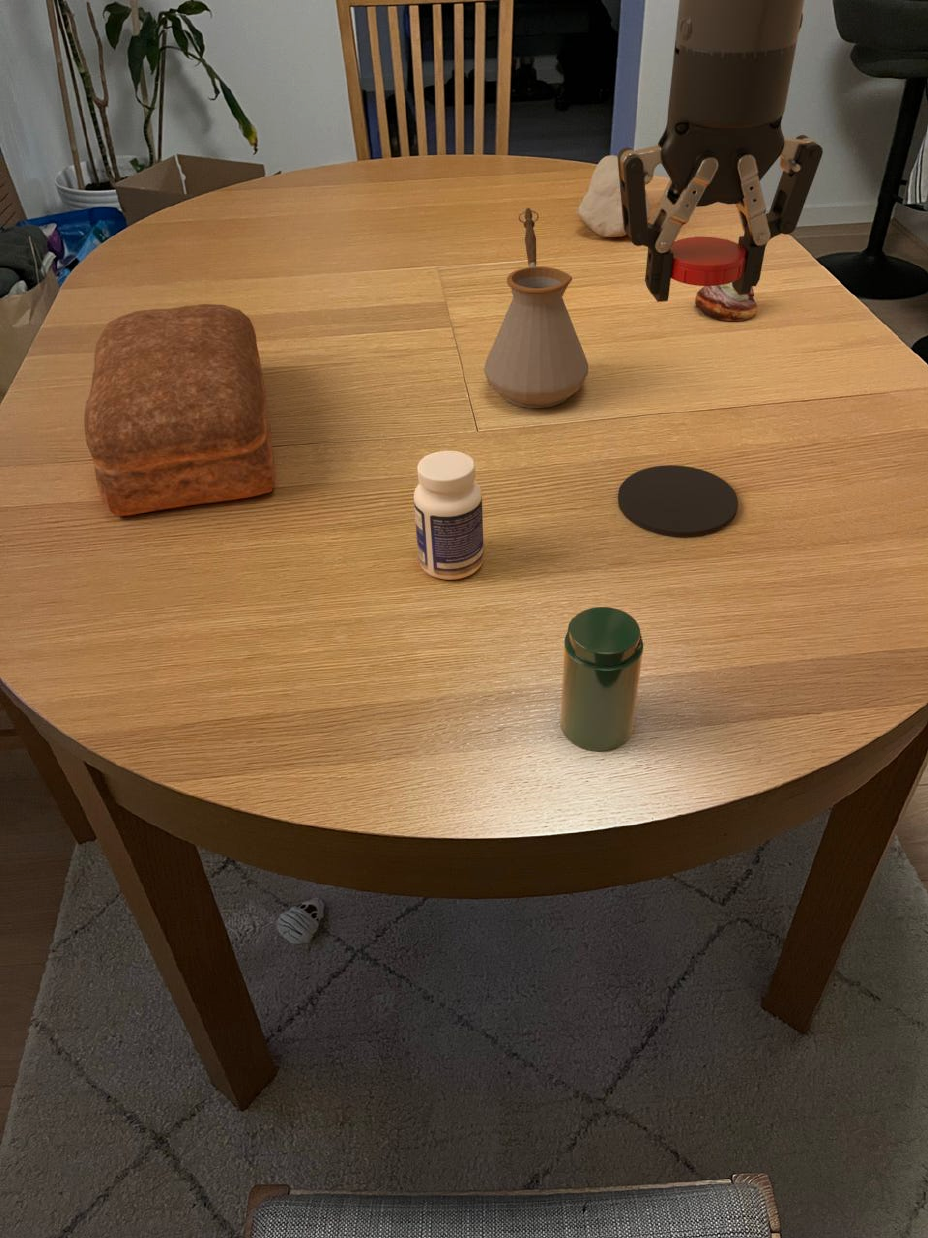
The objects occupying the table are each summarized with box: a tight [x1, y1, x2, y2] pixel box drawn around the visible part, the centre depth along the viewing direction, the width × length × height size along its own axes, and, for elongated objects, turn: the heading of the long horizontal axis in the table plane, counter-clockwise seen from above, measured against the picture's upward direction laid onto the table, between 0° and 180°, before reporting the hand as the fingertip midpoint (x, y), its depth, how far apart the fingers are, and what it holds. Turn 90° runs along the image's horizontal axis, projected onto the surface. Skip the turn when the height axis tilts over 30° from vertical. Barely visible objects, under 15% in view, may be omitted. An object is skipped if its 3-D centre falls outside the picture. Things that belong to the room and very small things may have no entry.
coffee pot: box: [483, 207, 590, 409], centre depth 103 cm, size 21×12×15 cm, turn 1°
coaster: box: [617, 464, 739, 538], centre depth 87 cm, size 11×11×1 cm
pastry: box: [694, 283, 758, 322], centre depth 117 cm, size 8×8×5 cm
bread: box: [83, 303, 275, 518], centre depth 95 cm, size 17×29×11 cm, turn 12°
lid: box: [670, 236, 746, 287], centre depth 68 cm, size 6×6×2 cm
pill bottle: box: [413, 450, 485, 581], centre depth 78 cm, size 6×6×10 cm
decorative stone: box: [576, 154, 652, 238], centre depth 141 cm, size 17×10×10 cm
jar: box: [559, 606, 644, 752], centre depth 64 cm, size 5×5×9 cm
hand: (699, 293), depth 70 cm, fingers closed on lid, 5 cm apart
